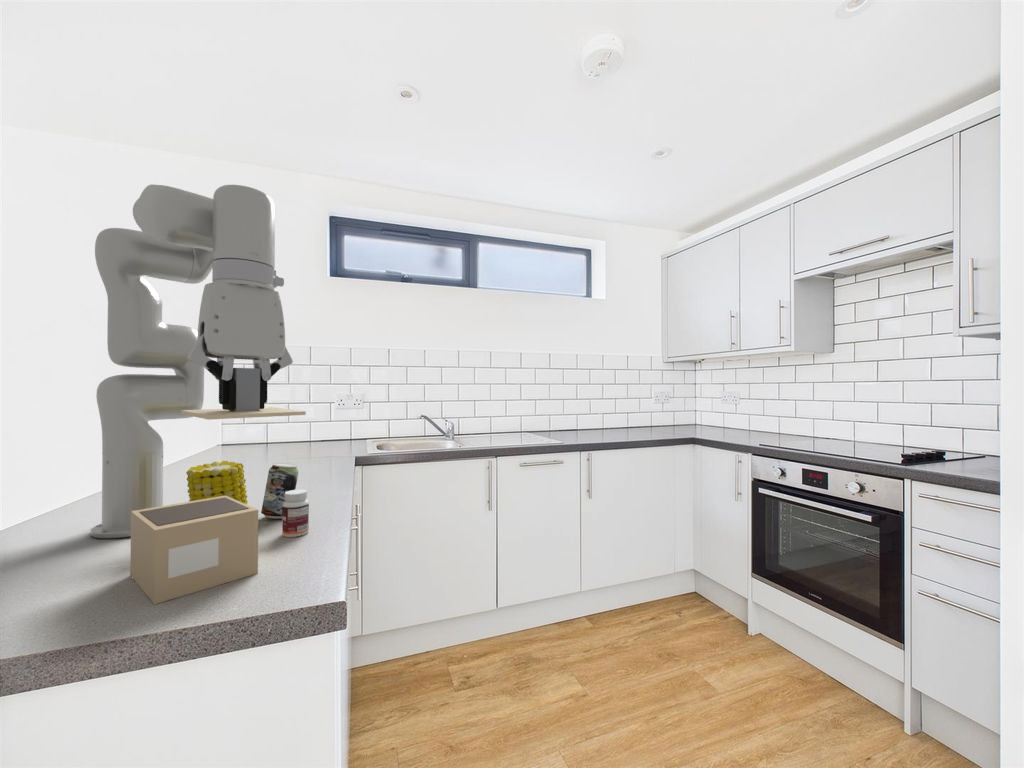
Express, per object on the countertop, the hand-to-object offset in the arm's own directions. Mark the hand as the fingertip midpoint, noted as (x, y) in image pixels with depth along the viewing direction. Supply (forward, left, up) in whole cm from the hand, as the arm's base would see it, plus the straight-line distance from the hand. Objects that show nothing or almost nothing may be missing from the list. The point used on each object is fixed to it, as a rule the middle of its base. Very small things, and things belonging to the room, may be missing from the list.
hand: (243, 407), depth 63 cm
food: (-32, +7, -27) cm, 42 cm away
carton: (-13, -2, -26) cm, 30 cm away
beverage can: (-35, +20, -27) cm, 48 cm away
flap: (0, 0, -1) cm, 1 cm away
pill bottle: (-21, +17, -27) cm, 38 cm away
